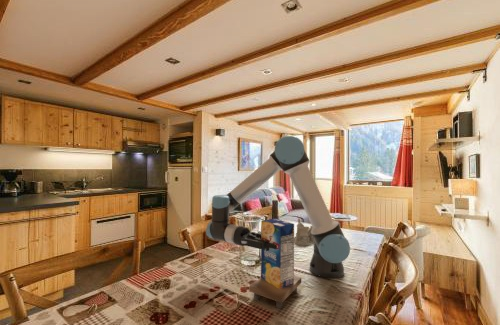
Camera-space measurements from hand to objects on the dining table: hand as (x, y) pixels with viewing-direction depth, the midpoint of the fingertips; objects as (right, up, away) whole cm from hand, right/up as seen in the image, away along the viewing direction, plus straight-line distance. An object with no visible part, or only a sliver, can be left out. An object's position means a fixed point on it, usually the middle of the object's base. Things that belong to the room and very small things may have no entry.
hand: (289, 246), depth 88 cm
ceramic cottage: (+22, -21, +67) cm, 73 cm away
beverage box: (-4, -14, +3) cm, 15 cm away
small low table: (-4, -19, +3) cm, 20 cm away
